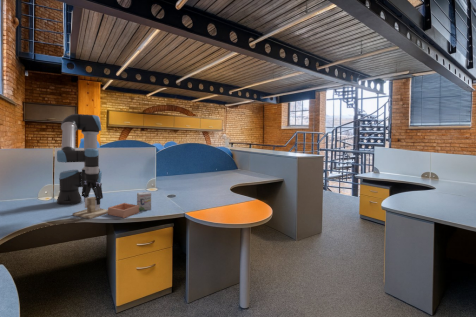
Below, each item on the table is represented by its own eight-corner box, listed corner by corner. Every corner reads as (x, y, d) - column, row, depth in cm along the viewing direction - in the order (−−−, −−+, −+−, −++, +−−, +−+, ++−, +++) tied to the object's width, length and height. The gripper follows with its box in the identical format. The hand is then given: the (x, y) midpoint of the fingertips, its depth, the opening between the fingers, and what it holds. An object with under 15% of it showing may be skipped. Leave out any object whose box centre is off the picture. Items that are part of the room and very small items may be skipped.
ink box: (149, 207, 182) (149, 191, 180) (151, 209, 177) (151, 193, 176) (136, 209, 176) (136, 192, 175) (138, 211, 172) (138, 194, 171)
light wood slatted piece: (72, 215, 158) (72, 198, 157) (94, 208, 171) (94, 194, 170) (90, 218, 152) (89, 202, 151) (110, 212, 166) (110, 196, 165)
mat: (71, 216, 157) (71, 215, 157) (94, 209, 172) (94, 208, 172) (89, 220, 152) (89, 219, 151) (112, 213, 166) (112, 212, 166)
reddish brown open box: (108, 215, 162) (108, 207, 161) (124, 210, 174) (124, 202, 173) (123, 218, 157) (123, 210, 157) (139, 212, 169) (139, 205, 169)
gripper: (74, 172, 160) (74, 207, 162) (99, 175, 152) (99, 212, 154) (85, 170, 167) (85, 204, 169) (109, 174, 159) (109, 209, 161)
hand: (92, 208), depth 161 cm, fingers open, 8 cm apart
